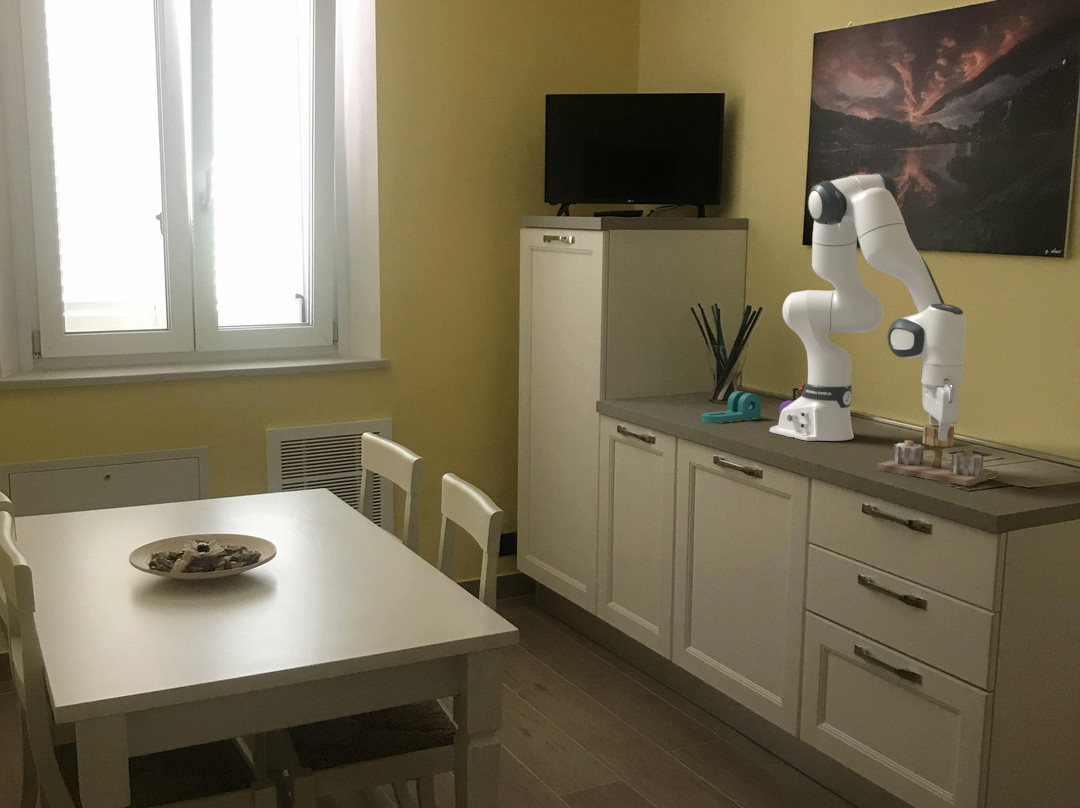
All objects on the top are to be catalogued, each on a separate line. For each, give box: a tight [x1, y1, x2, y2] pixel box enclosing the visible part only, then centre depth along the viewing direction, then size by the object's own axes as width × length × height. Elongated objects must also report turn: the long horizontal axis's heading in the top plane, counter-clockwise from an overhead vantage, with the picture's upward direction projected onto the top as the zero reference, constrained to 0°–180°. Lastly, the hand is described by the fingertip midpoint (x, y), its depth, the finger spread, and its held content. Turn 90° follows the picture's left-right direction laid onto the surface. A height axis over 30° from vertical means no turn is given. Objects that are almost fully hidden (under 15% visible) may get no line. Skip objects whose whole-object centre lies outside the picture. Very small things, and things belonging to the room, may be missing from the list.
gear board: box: [876, 439, 999, 485], centre depth 255 cm, size 22×14×6 cm, turn 42°
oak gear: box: [922, 423, 955, 448], centre depth 254 cm, size 7×7×4 cm
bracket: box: [701, 390, 762, 424], centre depth 323 cm, size 18×7×8 cm, turn 120°
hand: (938, 436), depth 254 cm, fingers closed on oak gear, 7 cm apart
